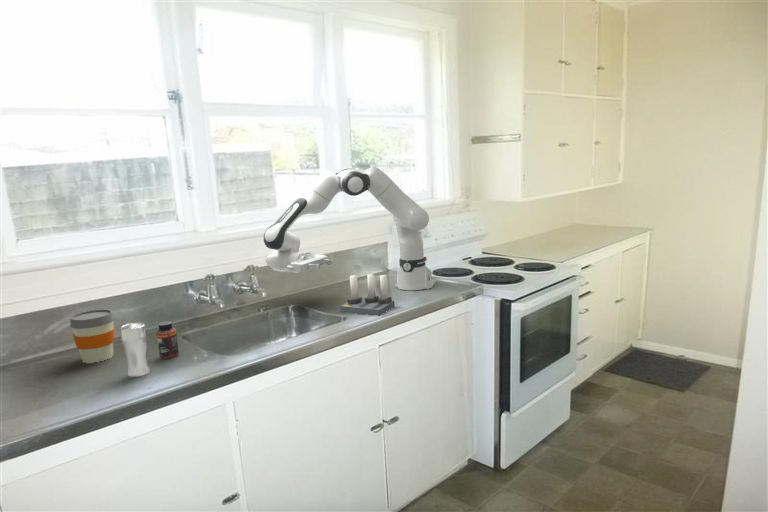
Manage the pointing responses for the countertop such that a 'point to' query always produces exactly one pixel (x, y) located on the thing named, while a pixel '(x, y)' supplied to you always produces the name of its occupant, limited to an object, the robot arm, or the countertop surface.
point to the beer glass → (135, 348)
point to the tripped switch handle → (354, 291)
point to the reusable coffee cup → (93, 334)
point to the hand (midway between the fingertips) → (325, 264)
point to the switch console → (372, 299)
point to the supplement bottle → (167, 340)
